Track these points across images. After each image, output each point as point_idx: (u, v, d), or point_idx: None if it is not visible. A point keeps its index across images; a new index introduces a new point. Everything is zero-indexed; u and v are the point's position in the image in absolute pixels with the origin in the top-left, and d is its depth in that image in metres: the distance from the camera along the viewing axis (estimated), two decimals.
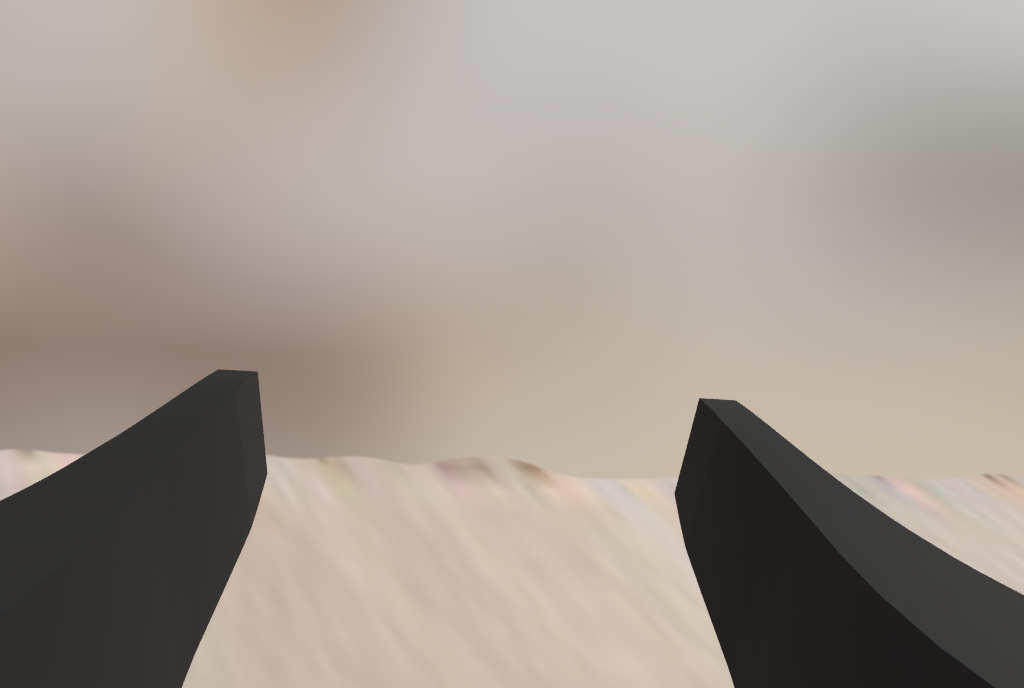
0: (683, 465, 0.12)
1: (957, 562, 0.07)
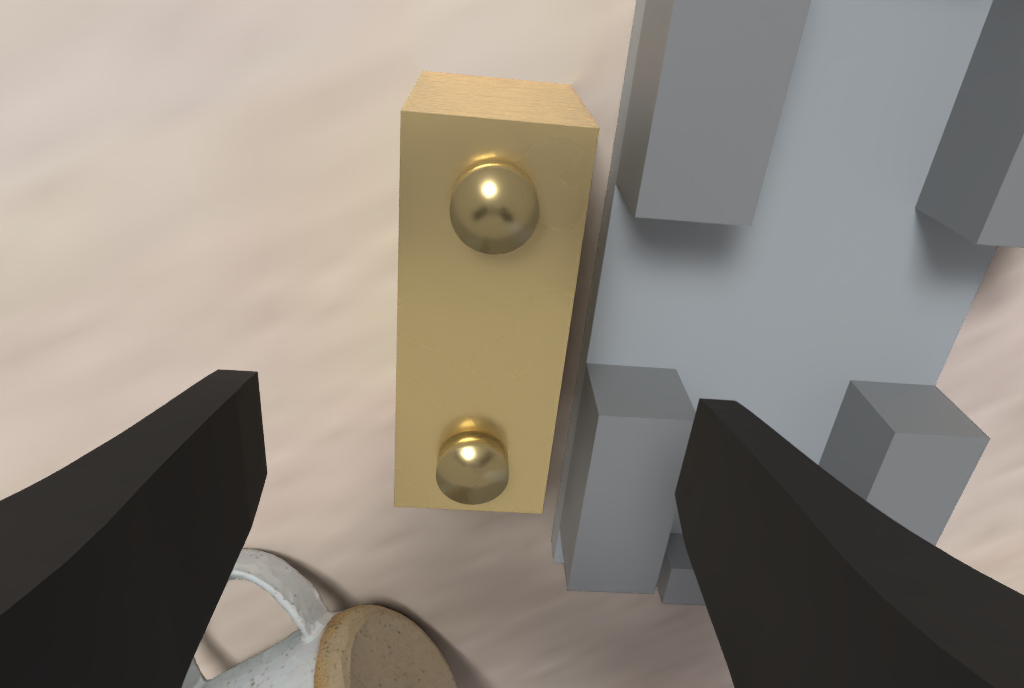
0: (683, 465, 0.12)
1: (957, 562, 0.07)
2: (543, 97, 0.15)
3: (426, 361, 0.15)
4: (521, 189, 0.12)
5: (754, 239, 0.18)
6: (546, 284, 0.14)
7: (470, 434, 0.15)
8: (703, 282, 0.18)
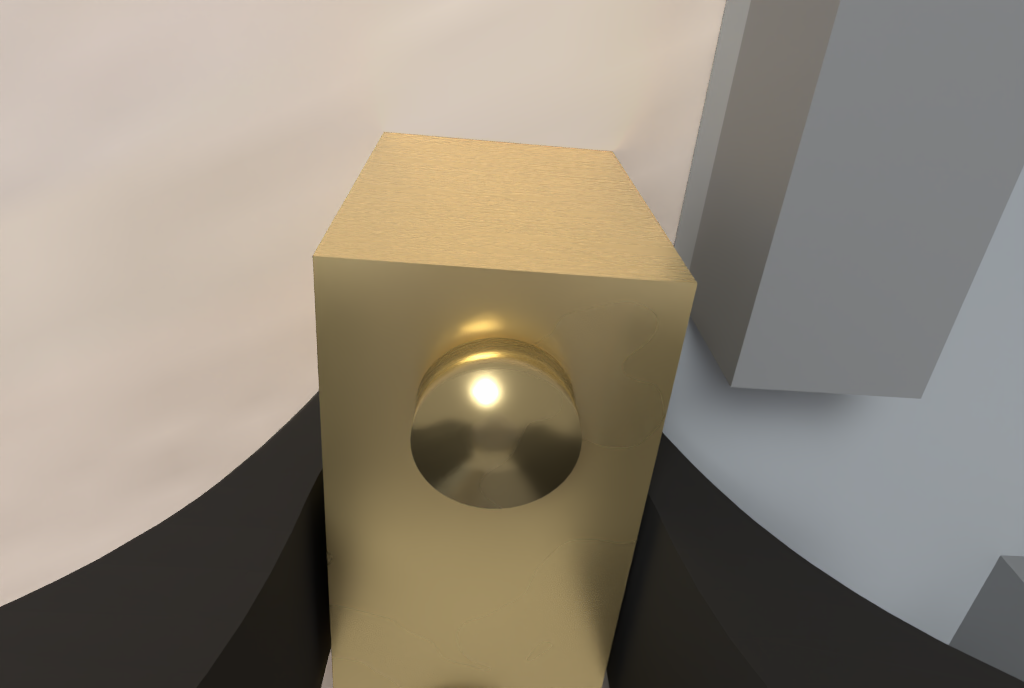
0: None
1: (793, 555, 0.07)
2: (577, 190, 0.09)
3: (380, 638, 0.09)
4: (548, 405, 0.06)
5: None
6: (588, 529, 0.08)
7: None
8: (804, 434, 0.12)
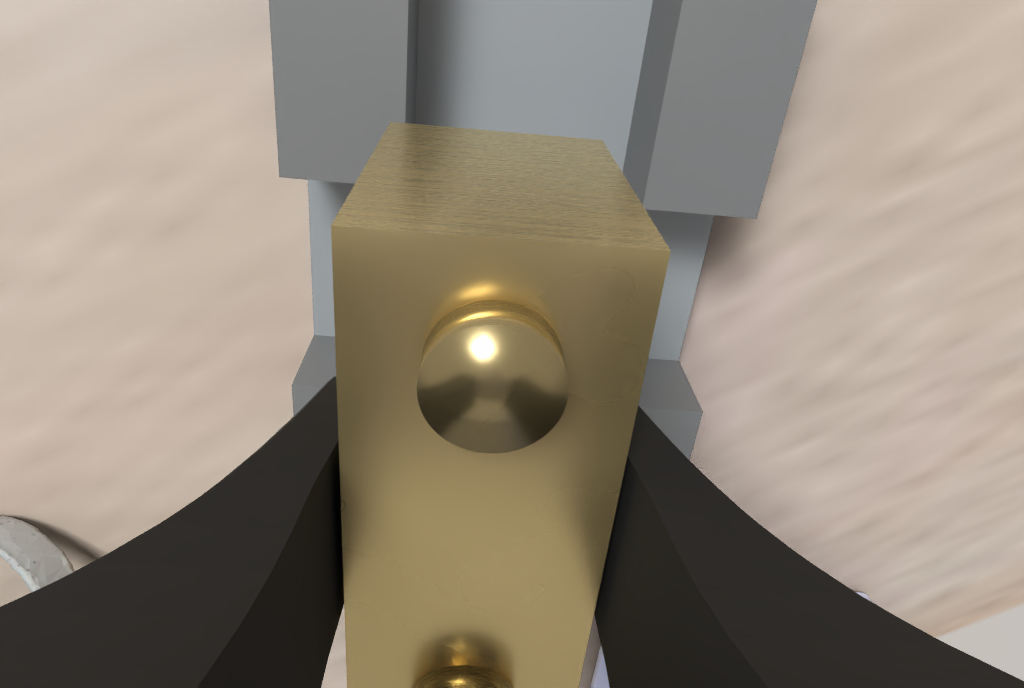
0: None
1: (794, 555, 0.07)
2: (568, 173, 0.10)
3: (388, 581, 0.10)
4: (538, 357, 0.07)
5: None
6: (576, 477, 0.09)
7: (458, 674, 0.10)
8: None
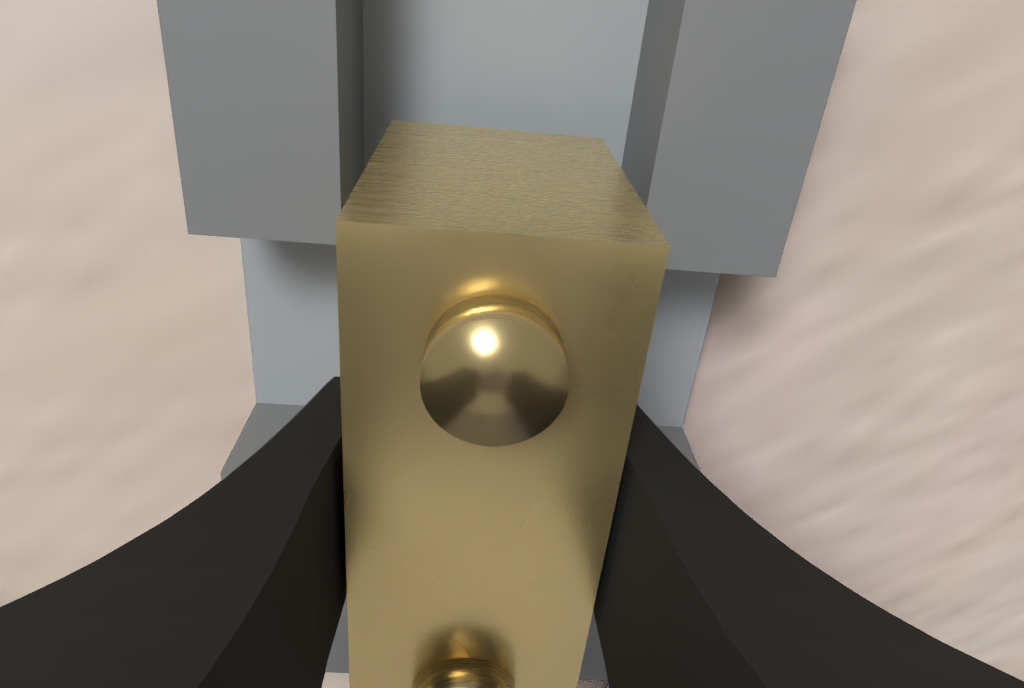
0: None
1: (793, 555, 0.07)
2: (568, 170, 0.10)
3: (390, 574, 0.10)
4: (538, 351, 0.07)
5: None
6: (576, 471, 0.09)
7: (459, 666, 0.10)
8: None
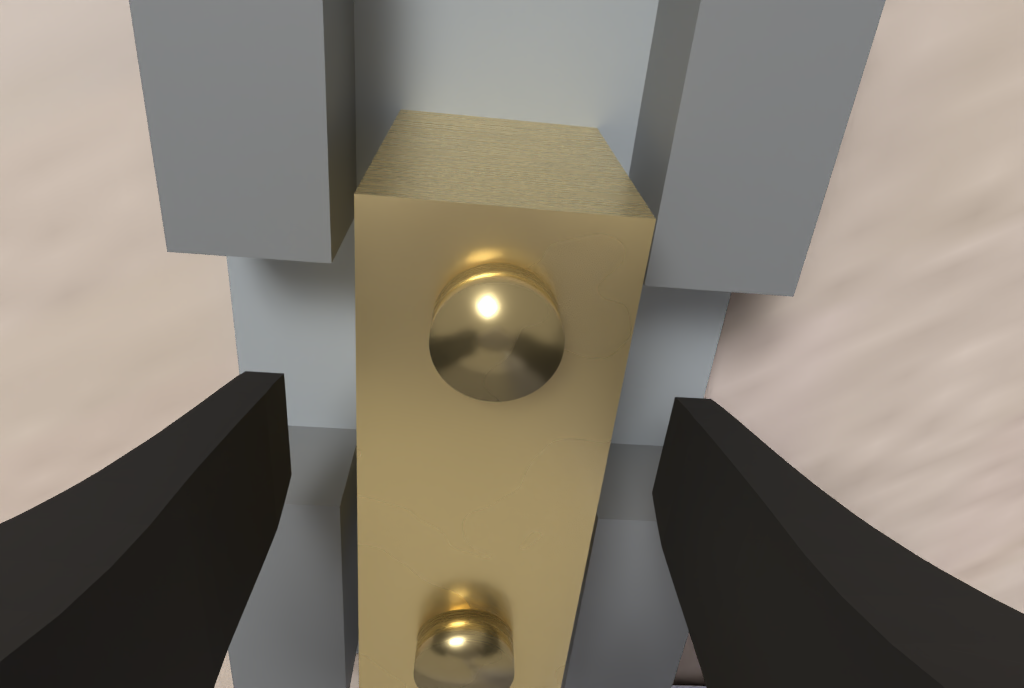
0: (660, 464, 0.12)
1: (920, 560, 0.07)
2: (565, 155, 0.11)
3: (398, 527, 0.10)
4: (537, 313, 0.08)
5: None
6: (570, 429, 0.10)
7: (461, 617, 0.11)
8: None
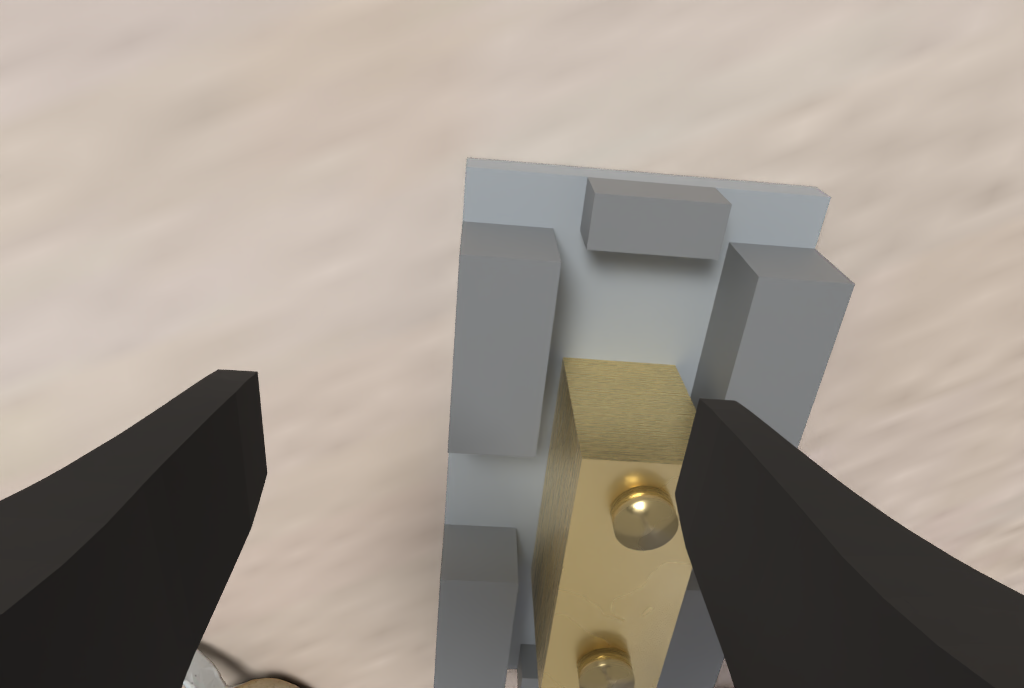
0: (683, 465, 0.12)
1: (957, 562, 0.07)
2: (666, 404, 0.20)
3: (577, 605, 0.20)
4: (666, 513, 0.17)
5: None
6: (673, 557, 0.19)
7: (605, 652, 0.20)
8: (529, 468, 0.23)
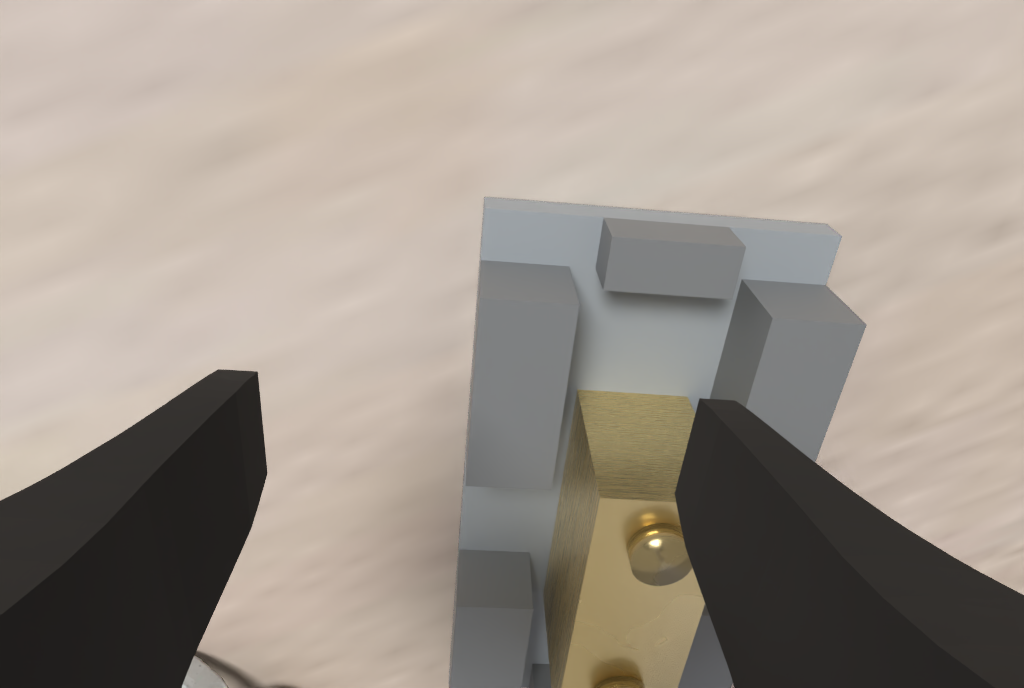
0: (683, 465, 0.12)
1: (957, 562, 0.07)
2: (680, 439, 0.20)
3: (593, 636, 0.20)
4: (682, 550, 0.18)
5: None
6: (688, 590, 0.19)
7: (620, 680, 0.21)
8: (543, 496, 0.24)
